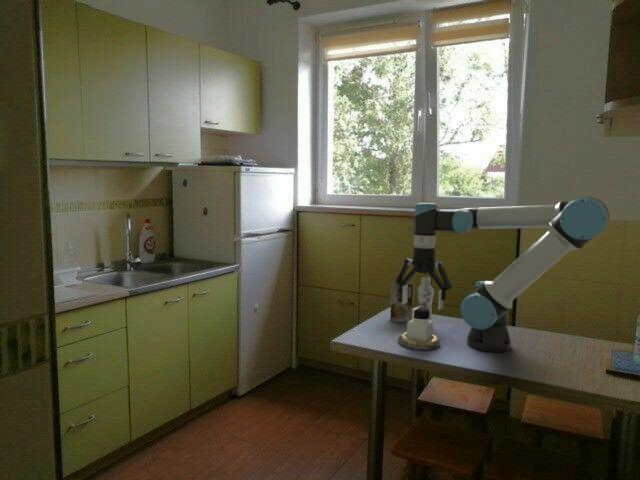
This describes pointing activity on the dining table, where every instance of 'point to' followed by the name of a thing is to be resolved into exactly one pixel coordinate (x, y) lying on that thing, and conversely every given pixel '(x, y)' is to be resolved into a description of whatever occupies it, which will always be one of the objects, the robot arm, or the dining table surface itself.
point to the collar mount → (419, 343)
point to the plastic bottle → (425, 294)
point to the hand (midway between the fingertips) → (422, 306)
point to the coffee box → (397, 308)
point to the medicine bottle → (420, 325)
